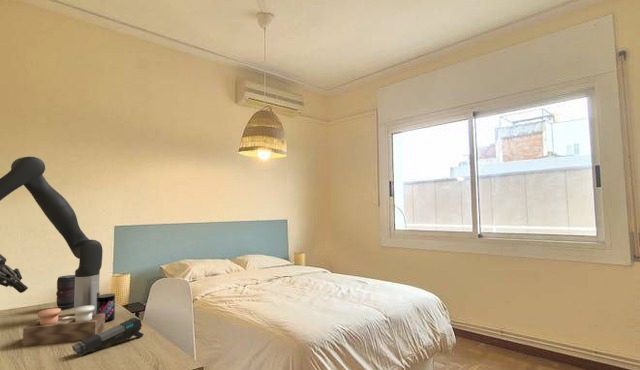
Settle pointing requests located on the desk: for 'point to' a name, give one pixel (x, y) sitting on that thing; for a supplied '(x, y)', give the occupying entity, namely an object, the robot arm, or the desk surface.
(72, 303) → the camera lens
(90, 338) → the gun
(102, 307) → the supplement container
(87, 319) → the white button
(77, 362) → the desk surface
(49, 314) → the terracotta button
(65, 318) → the console
